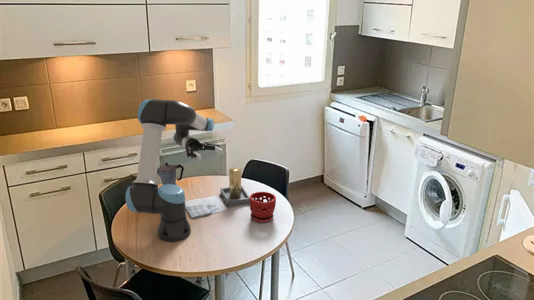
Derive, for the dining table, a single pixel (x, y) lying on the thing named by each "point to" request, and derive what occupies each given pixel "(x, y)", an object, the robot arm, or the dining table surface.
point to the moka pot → (169, 173)
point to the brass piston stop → (235, 183)
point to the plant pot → (262, 206)
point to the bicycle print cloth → (199, 209)
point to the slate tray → (232, 202)
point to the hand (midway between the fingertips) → (211, 154)
